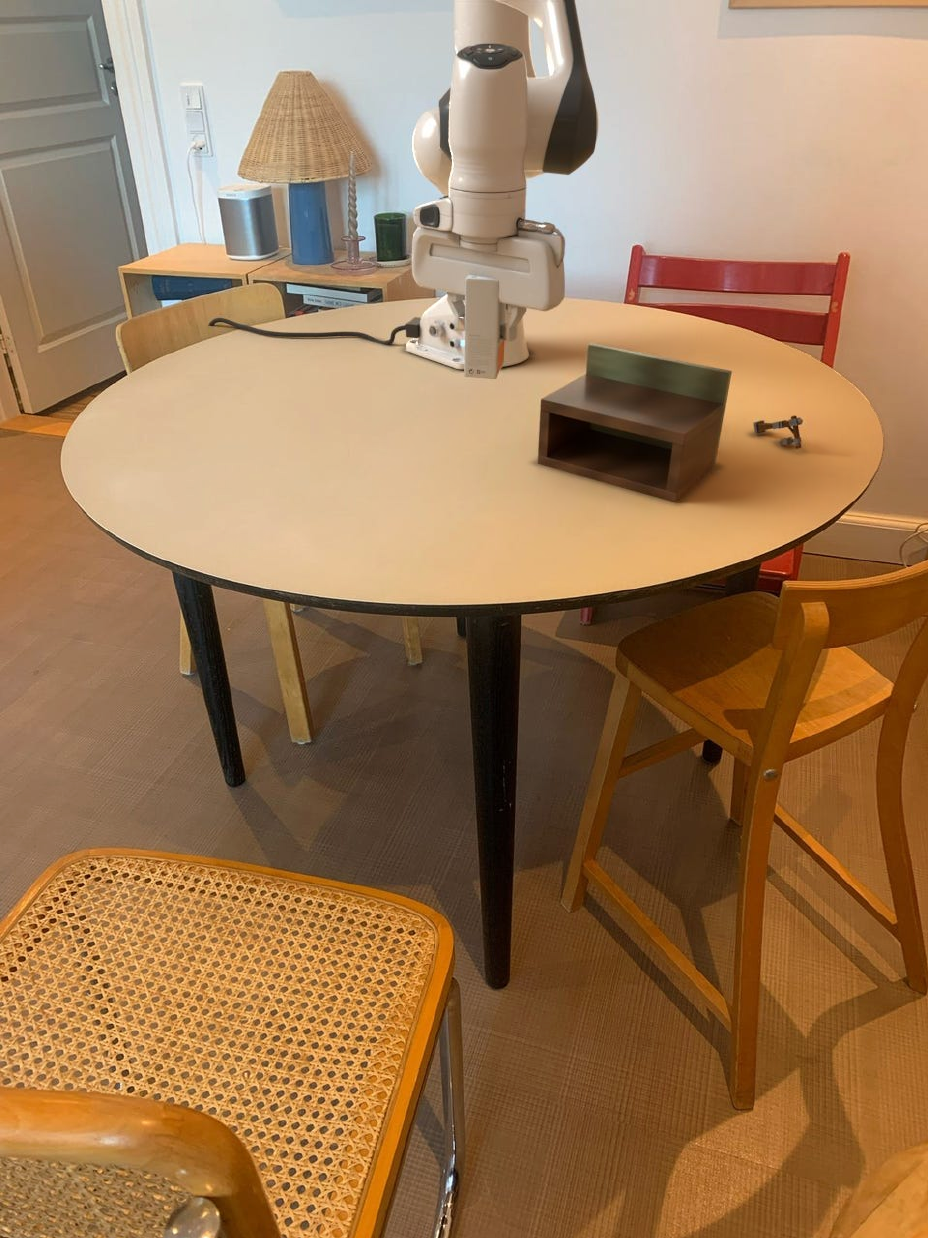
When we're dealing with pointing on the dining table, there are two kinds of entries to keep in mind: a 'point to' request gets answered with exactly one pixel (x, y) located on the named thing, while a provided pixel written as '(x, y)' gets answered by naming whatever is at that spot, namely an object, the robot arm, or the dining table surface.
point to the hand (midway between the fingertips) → (485, 334)
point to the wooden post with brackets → (794, 421)
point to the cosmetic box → (483, 328)
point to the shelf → (636, 422)
